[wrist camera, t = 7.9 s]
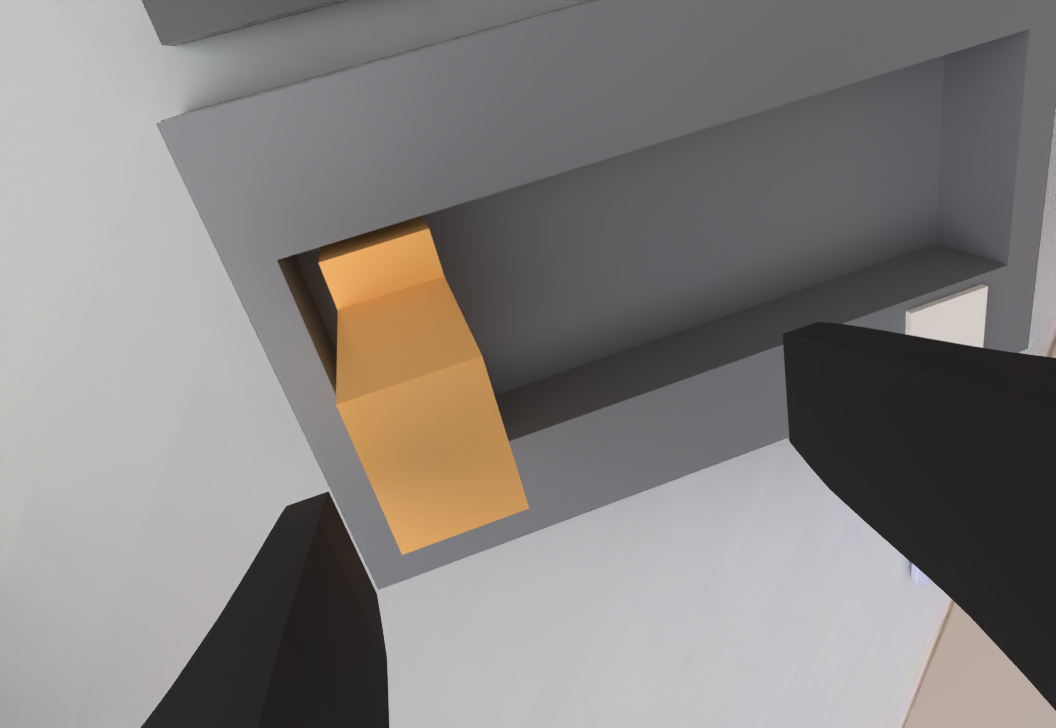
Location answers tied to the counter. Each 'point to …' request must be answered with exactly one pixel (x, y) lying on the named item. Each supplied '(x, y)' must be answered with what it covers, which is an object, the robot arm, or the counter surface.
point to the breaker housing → (636, 215)
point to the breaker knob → (416, 389)
